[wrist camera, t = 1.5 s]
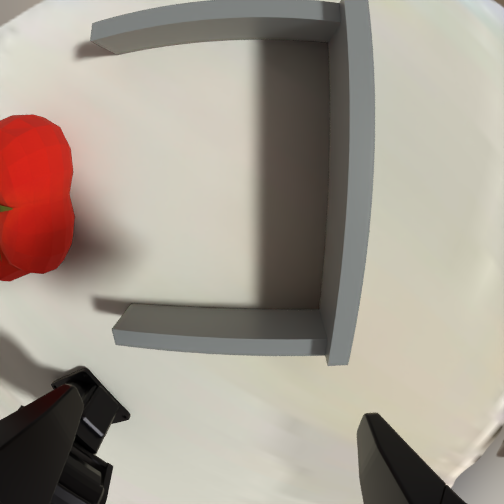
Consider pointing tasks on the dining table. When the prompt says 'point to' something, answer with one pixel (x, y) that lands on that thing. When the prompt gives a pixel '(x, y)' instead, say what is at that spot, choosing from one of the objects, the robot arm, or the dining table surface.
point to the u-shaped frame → (339, 186)
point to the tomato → (34, 196)
